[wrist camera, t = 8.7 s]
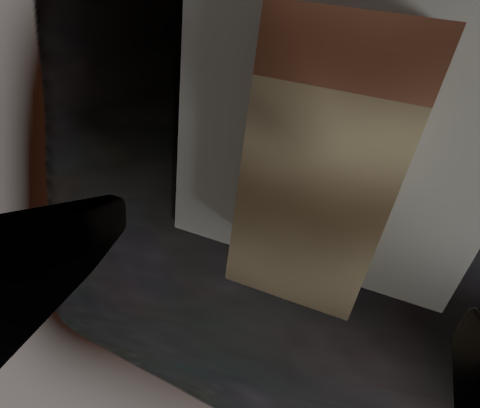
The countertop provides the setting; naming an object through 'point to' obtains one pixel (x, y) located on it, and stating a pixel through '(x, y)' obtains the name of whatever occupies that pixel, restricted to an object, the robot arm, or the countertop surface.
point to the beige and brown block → (330, 144)
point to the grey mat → (417, 177)
